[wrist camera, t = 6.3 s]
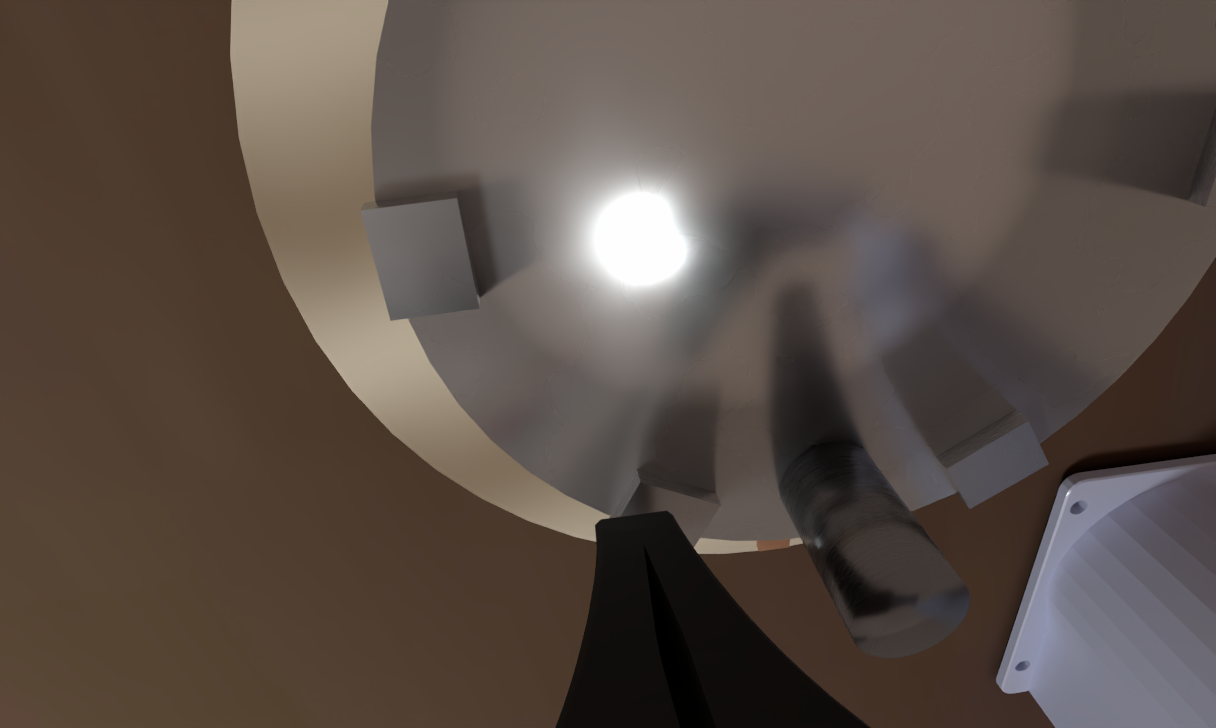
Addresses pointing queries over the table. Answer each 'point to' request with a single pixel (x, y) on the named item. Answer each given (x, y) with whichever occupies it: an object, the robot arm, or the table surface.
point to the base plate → (362, 242)
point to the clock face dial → (792, 250)
